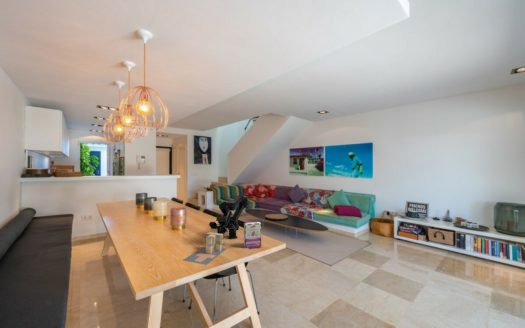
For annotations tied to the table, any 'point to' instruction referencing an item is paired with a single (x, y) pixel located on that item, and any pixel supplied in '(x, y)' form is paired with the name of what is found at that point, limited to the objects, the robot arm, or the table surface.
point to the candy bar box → (252, 235)
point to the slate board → (203, 256)
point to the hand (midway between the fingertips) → (217, 237)
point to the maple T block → (214, 242)
